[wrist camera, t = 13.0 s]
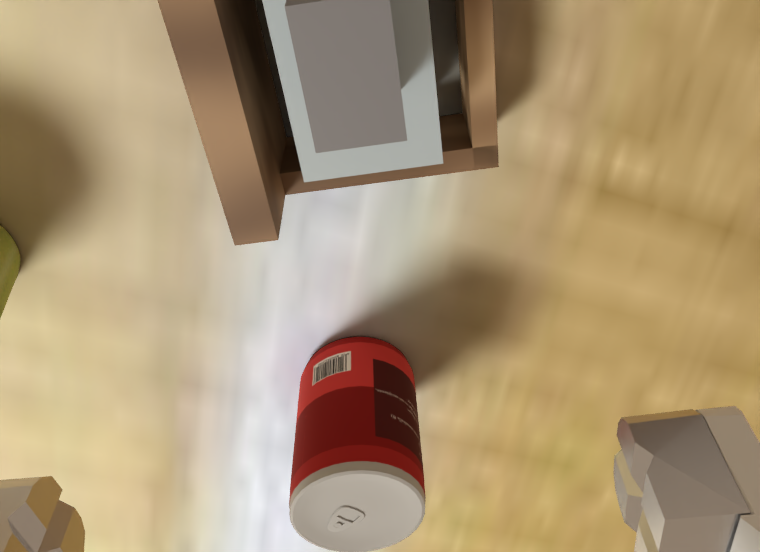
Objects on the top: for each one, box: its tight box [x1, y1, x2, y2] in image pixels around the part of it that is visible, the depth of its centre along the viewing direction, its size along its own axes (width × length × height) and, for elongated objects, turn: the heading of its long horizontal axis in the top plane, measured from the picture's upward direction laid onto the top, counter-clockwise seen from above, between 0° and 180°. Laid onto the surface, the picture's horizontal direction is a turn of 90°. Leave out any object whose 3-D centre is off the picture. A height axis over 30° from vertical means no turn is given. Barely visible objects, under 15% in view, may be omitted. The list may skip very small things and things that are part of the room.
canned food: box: [289, 337, 425, 552], centre depth 44 cm, size 8×8×11 cm
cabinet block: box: [262, 0, 443, 182], centre depth 28 cm, size 6×12×12 cm, turn 8°
